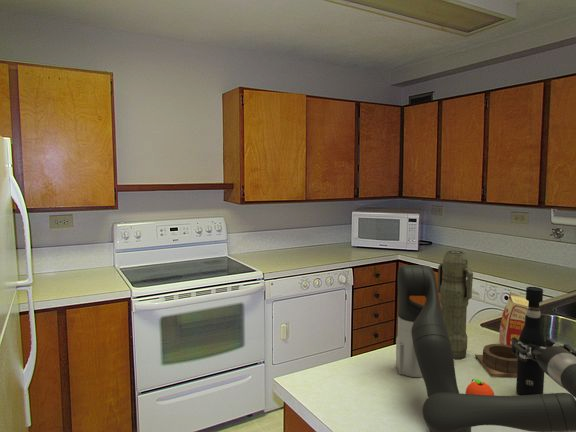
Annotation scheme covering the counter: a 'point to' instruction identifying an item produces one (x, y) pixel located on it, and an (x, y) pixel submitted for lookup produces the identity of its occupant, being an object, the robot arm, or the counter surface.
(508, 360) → the bottle stand
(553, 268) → the counter surface
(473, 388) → the clementine
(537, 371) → the wine bottle
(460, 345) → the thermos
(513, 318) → the milk carton
